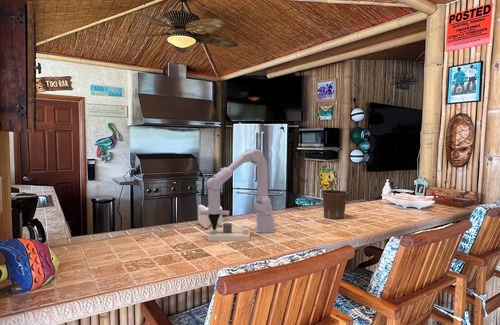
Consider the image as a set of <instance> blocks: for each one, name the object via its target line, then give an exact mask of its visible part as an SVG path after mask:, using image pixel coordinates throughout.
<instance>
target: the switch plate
mask: <svg viewBox="0 0 500 325" xmlns="http://www.w3.org/2000/svg"><path fill="white" fill-rule="evenodd" d="M250 237H251V229H250V228H248V229H247V228H232V232H231V233H223V228H216V230H213V228H211V229H210V230H209V232H208V234H207V242H250V239H251V238H250Z"/></svg>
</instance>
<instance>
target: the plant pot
mask: <svg viewBox="0 0 500 325" xmlns="http://www.w3.org/2000/svg"><path fill="white" fill-rule="evenodd" d="M348 195H349V192H348V191H345V190H340V189H339V190H336V189H324V190H321V198H322V206H323V217H325V218H327V219H330V220H337V219H338V220H343V219H344V218H345V211H346V205H347V204H346V202H347V199H348Z"/></svg>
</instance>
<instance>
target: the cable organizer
mask: <svg viewBox="0 0 500 325" xmlns="http://www.w3.org/2000/svg"><path fill="white" fill-rule="evenodd" d="M197 206H198V211H197V212H198V214H197V215H198V223H199V224H200V226H202V227H203V228H204V229H208V228H209V227H210V226H212V224H211V221H210V219H209V215H199V211H204V210H208V206H207V207H206V206H205V205H204V204H198V205H197ZM220 210H223V207H222V206H221V205H220ZM217 226H218V227H221V226H222V227H223V215H220V217H219V219H218V222H217Z"/></svg>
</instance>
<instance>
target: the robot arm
mask: <svg viewBox="0 0 500 325" xmlns="http://www.w3.org/2000/svg"><path fill="white" fill-rule="evenodd" d="M245 163H251V164H253V165H254V166H256V175H257V178H256V180H257V197H256V199H255V203H254V210H255V211H256V227H255V233H275V228H276V227H275V215H274V214H272V212H273V205H272V200H271V198H270V196H269V188H268V187H269V182H268V177H269V175H268V162H267V160H266V158H265V156H264V152H263V151H261V150H260V149H253V148H247V149H246V150H244V151H243V152H242V153H241V154H240V155H239V156H238V157H237V158H236V159H235V160H234V161H233V162H232V163H230V165H229V166H227V167H225V166H224V167H221V168H220V170H219V171H218V172H217V173H216V174H214V175H213V176H212V177H210V178H208V179H207V181H206V183H205V184H206V186H207V188H208V190H207V192H208V193H207V196H208V198H207V200H208V202H207V203H208V204H207V207H208V210H204V211H199V215H209V219H210V221H211V224H210V225H211V226H212V228H211V229H213V230H216V229H217V226H218V225H217V222H218V219H219V217H220V215H222V216H230V210H226V209H225V210H223V209H222V210H220V206H221V188H222V186H223V184H224V183H225V182H227V181H228V180H229V179H230V178H231V177H232V175H233V172H235V171H236V170H237V169H238V168H239V167H241V166H242V165H244V164H245Z"/></svg>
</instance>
